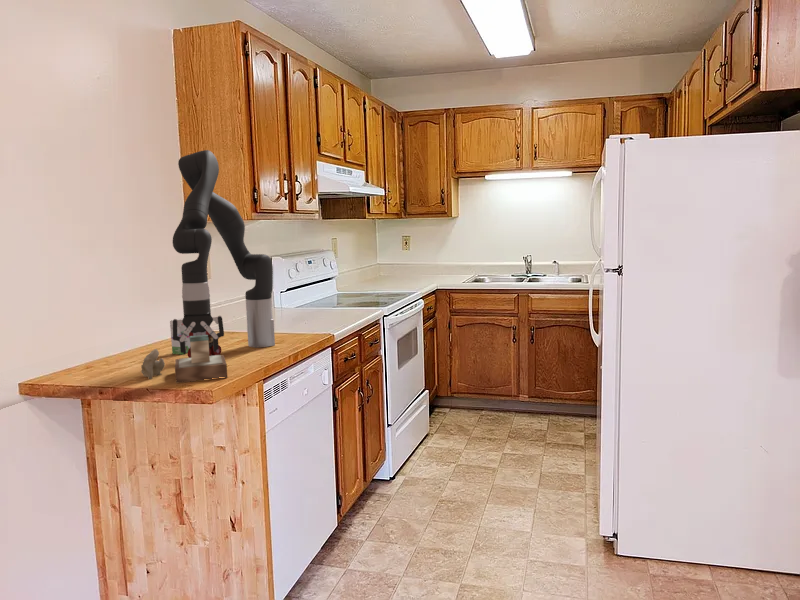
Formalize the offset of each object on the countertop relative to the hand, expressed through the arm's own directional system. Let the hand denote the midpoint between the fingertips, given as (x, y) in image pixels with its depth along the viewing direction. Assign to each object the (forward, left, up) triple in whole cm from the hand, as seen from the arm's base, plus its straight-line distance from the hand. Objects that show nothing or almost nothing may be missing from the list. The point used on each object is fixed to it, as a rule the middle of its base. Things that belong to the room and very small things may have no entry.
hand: (199, 352), depth 182 cm
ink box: (+4, -39, -7) cm, 40 cm away
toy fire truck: (-2, -26, -7) cm, 27 cm away
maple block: (0, 0, -2) cm, 2 cm away
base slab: (0, 0, -7) cm, 7 cm away
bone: (+14, -5, -7) cm, 17 cm away
